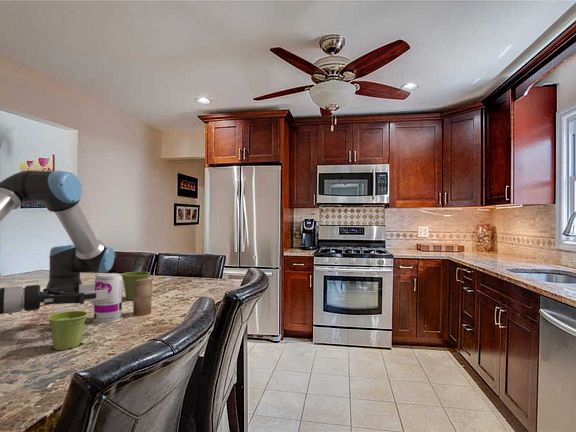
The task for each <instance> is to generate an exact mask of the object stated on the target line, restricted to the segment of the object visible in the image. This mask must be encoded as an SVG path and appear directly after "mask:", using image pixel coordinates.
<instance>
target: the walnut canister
mask: <svg viewBox="0 0 576 432" xmlns="http://www.w3.org/2000/svg"><path fill="white" fill-rule="evenodd" d="M152 292H153V280H152V279H150V278H148V279H138V280H134V299H133V300H132V301H133V305H132V306H133V307H132V308H133V310H132V312H133V315H135V316H145V315H149V314H151V310H152V296H153V295H152V294H153V293H152Z"/></svg>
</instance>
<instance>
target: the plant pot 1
mask: <svg viewBox="0 0 576 432" xmlns="http://www.w3.org/2000/svg"><path fill="white" fill-rule="evenodd" d="M88 315H89V312H88V311H84V310H69V311H63V312H56V313H53V314H50V315H48V316H47V318H46V319H47V321H48V323H49V325H50V329H51V337H52V345H53V349H54V350H55V351H56V350H57V351H66V350H69V349H70V348H71V349H75V348H77V347H79V346H80V345H81V342H82V336H83V332H84V327H85V321H86V320H87V317H88Z"/></svg>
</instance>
